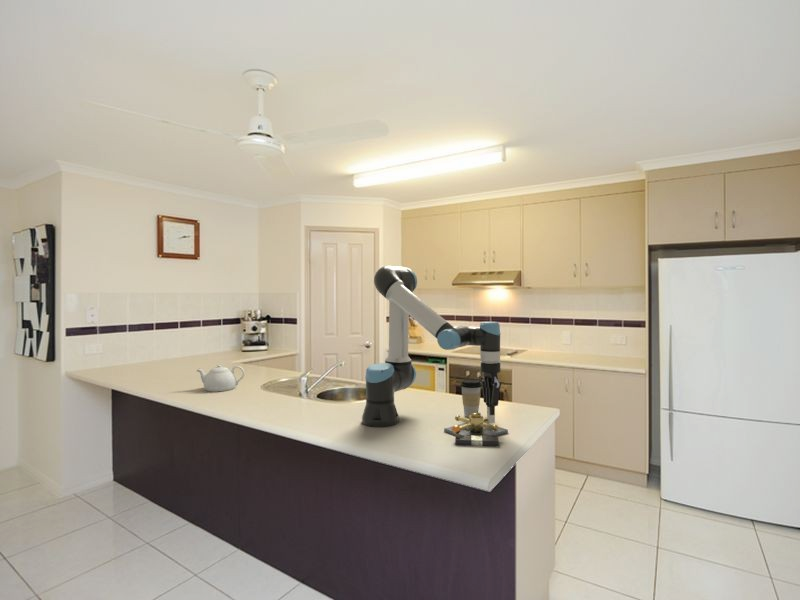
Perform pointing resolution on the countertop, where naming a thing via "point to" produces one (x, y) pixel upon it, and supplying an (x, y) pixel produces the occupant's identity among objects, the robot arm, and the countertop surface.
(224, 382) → the teapot
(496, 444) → the stand
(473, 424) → the handle
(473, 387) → the coffee cup
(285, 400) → the countertop surface
